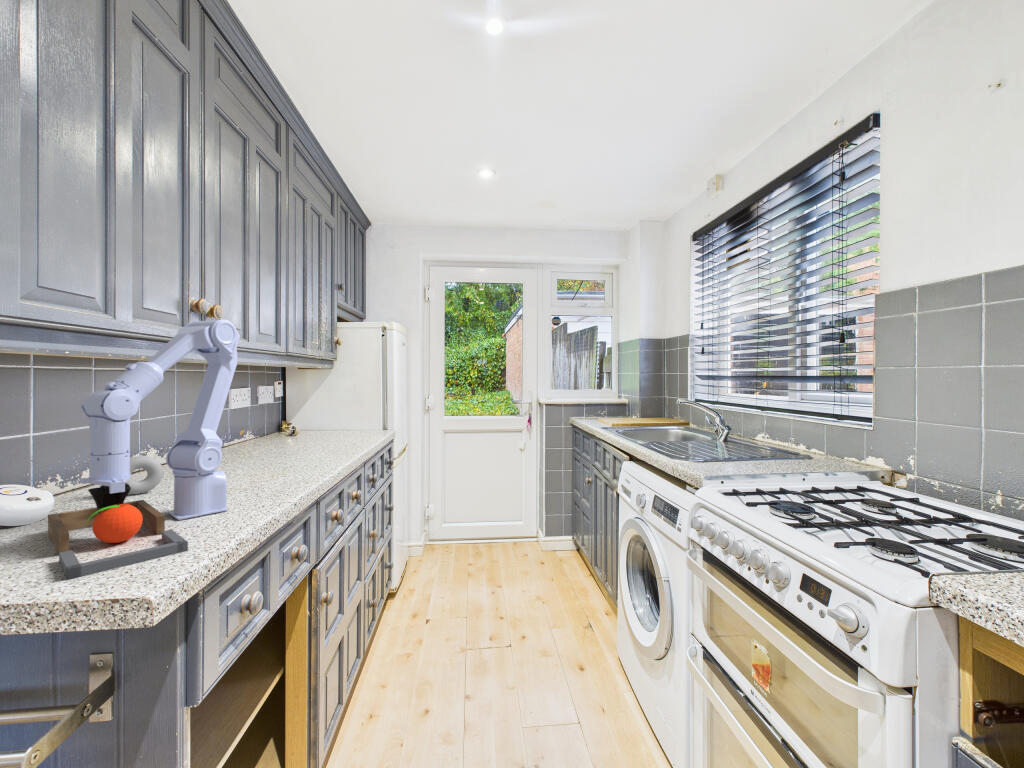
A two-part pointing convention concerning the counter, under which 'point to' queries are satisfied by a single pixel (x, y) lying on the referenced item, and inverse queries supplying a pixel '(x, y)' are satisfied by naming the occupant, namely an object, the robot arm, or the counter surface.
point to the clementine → (117, 523)
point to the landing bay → (122, 557)
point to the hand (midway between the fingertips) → (109, 524)
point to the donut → (153, 474)
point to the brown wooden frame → (77, 519)
